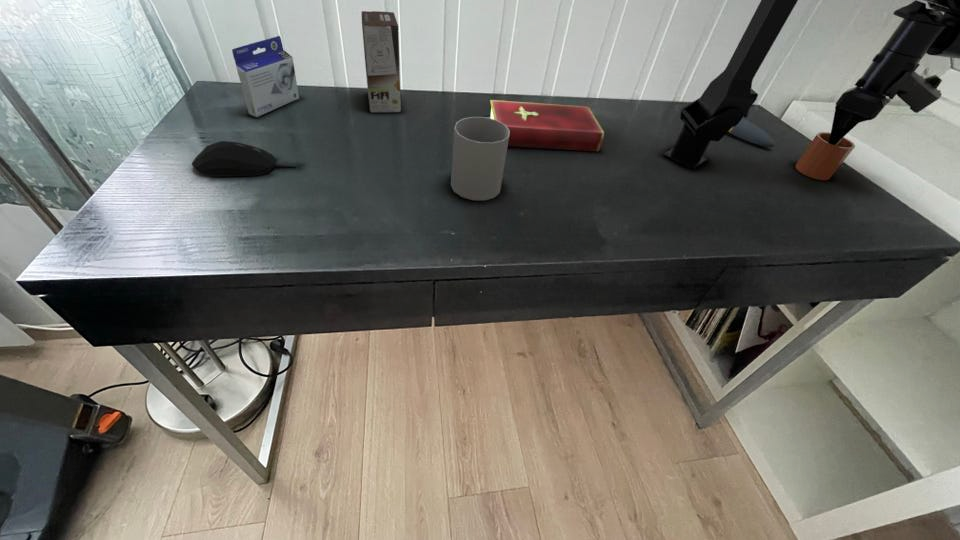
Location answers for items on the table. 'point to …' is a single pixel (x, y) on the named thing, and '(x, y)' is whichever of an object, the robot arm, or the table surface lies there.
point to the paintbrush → (751, 134)
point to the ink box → (266, 76)
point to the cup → (479, 157)
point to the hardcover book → (548, 125)
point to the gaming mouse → (234, 160)
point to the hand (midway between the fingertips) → (837, 137)
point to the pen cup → (823, 157)
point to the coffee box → (382, 60)
